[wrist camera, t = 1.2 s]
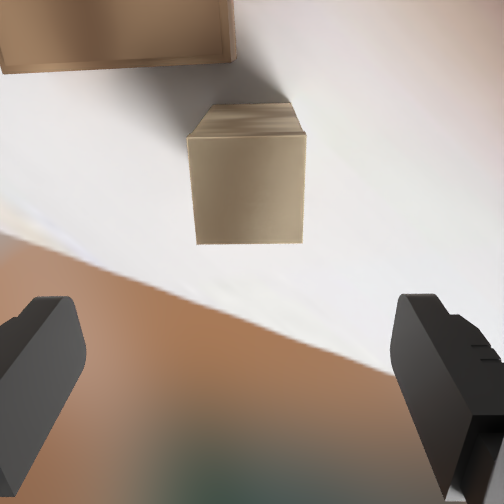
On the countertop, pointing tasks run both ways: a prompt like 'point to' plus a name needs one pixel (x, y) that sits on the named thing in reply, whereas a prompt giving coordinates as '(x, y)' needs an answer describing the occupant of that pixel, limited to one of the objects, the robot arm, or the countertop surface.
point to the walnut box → (114, 34)
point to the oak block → (248, 174)
